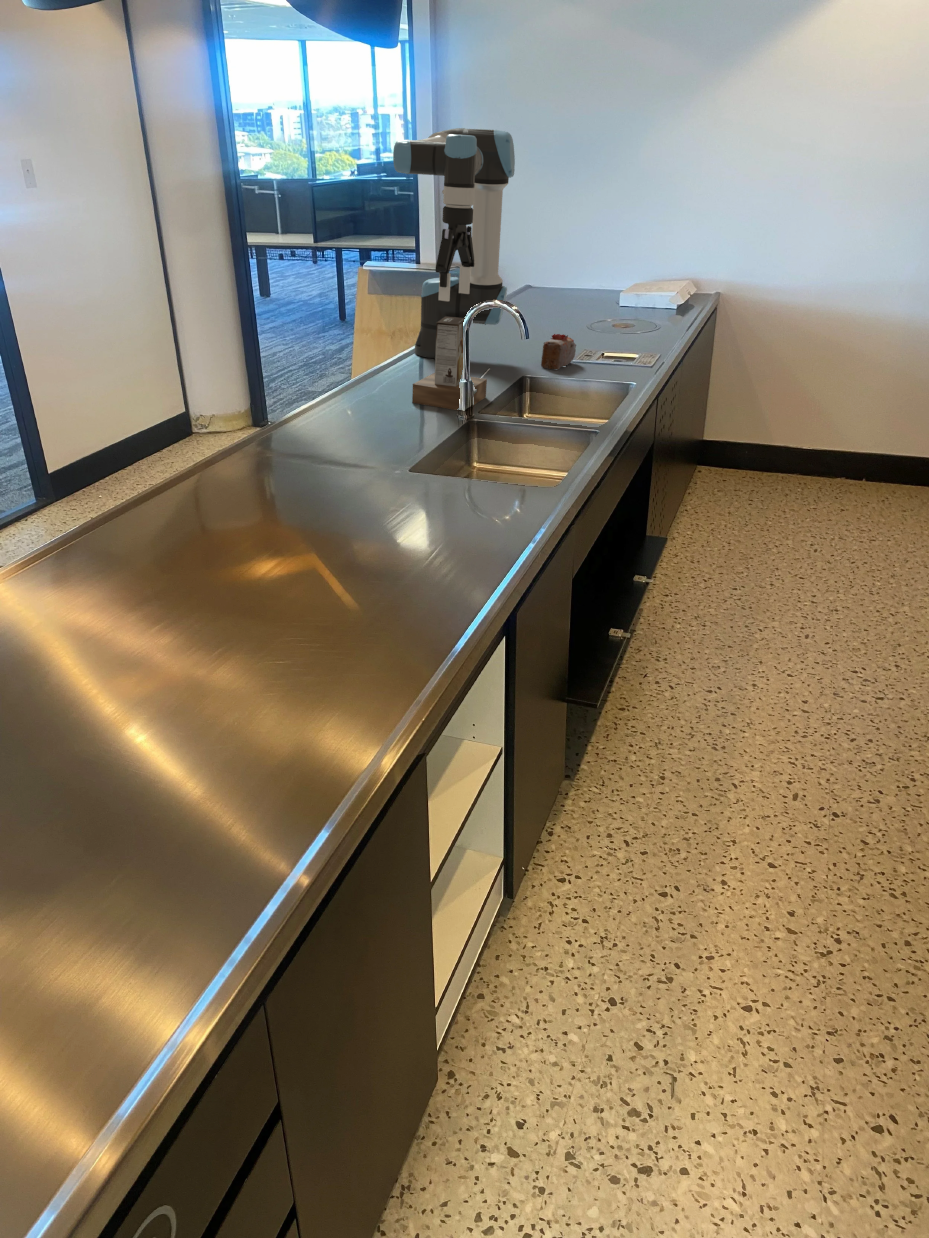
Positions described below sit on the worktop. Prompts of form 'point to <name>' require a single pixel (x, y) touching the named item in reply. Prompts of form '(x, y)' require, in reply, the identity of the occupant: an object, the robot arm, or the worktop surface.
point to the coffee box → (449, 351)
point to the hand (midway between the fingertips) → (454, 297)
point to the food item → (558, 352)
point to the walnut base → (444, 393)
